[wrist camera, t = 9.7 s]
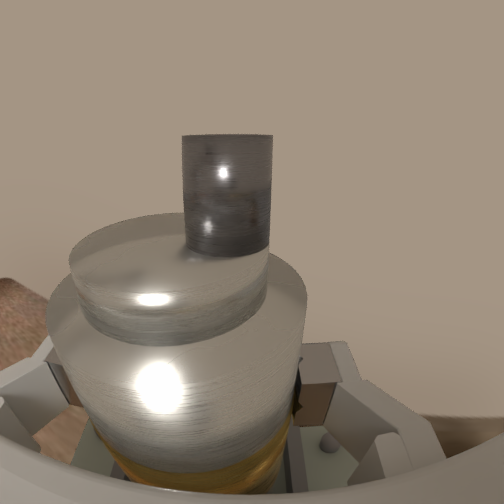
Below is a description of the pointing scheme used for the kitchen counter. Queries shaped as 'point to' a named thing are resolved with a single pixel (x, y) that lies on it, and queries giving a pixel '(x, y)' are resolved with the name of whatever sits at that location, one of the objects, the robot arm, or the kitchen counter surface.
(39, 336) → the kitchen counter surface
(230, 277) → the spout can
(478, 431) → the kitchen counter surface
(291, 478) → the block
